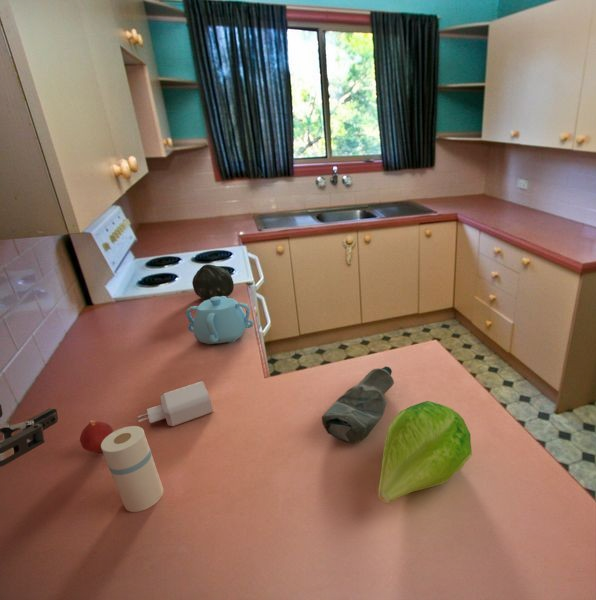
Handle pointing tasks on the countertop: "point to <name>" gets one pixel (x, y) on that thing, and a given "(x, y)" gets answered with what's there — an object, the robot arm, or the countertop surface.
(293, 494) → the countertop surface
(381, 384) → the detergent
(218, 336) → the decorative pot
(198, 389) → the charger
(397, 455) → the lettuce
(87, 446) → the onion
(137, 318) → the countertop surface
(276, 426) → the countertop surface
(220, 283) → the squash
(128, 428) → the paper towel roll
